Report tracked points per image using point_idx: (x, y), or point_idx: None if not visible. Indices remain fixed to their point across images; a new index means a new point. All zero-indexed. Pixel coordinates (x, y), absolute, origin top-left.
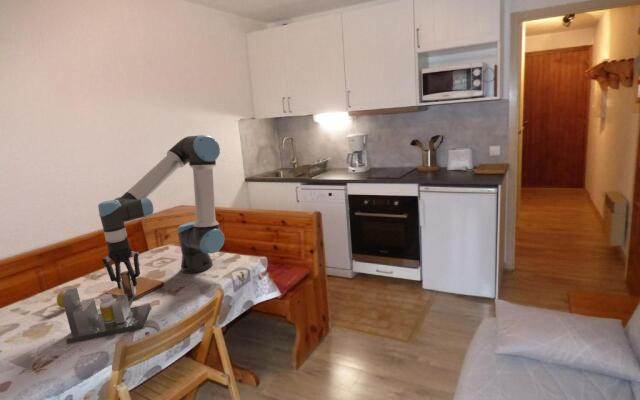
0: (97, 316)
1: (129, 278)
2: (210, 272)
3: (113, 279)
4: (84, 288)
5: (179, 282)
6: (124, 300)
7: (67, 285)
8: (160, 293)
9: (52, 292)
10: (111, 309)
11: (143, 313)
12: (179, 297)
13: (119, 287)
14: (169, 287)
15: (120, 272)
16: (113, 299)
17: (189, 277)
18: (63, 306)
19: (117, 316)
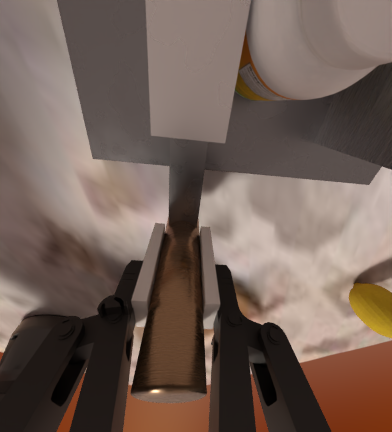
0: (327, 129)
1: (147, 319)
2: (2, 304)
3: (267, 340)
4: (299, 338)
5: (76, 289)
6: None
7: (322, 354)
8: (111, 254)
9: (352, 344)
10: None
11: (81, 29)
12: (13, 194)
13: (223, 273)
14: (95, 276)
15: (210, 404)
16: (277, 16)
17: (57, 302)
18: (377, 285)
19: None
